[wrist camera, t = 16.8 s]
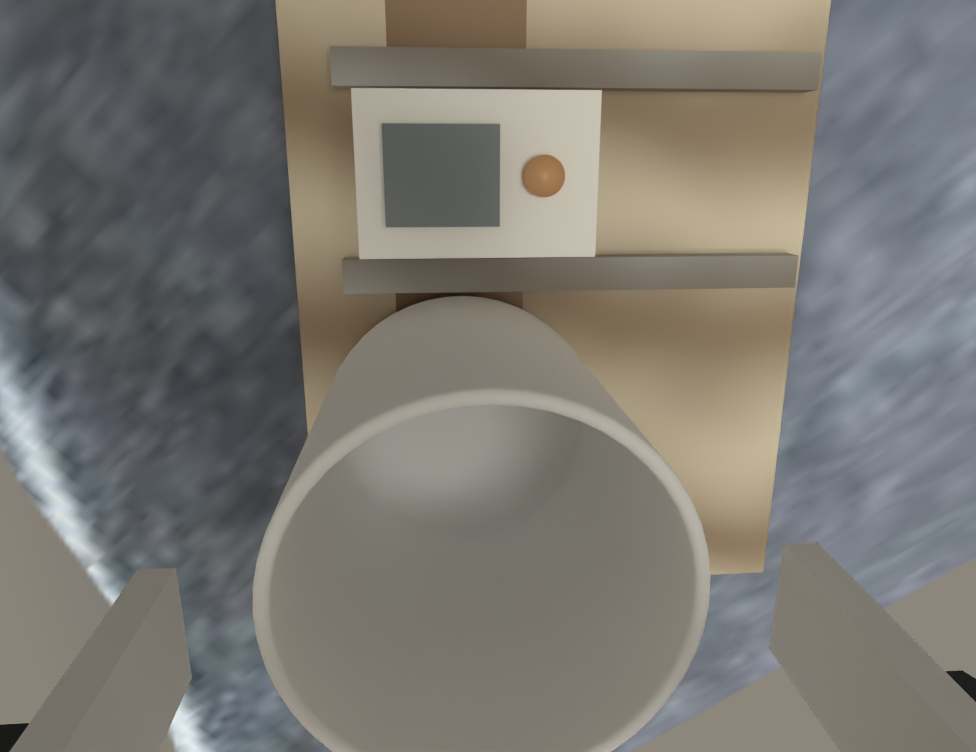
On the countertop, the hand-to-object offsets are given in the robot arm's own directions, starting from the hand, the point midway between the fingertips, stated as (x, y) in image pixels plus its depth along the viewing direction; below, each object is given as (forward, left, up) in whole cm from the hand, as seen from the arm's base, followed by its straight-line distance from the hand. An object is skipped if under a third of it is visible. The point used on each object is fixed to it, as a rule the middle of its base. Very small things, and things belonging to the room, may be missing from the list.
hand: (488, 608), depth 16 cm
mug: (0, 0, -9) cm, 9 cm away
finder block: (-9, 0, -9) cm, 13 cm away
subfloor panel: (-5, +3, -10) cm, 12 cm away
